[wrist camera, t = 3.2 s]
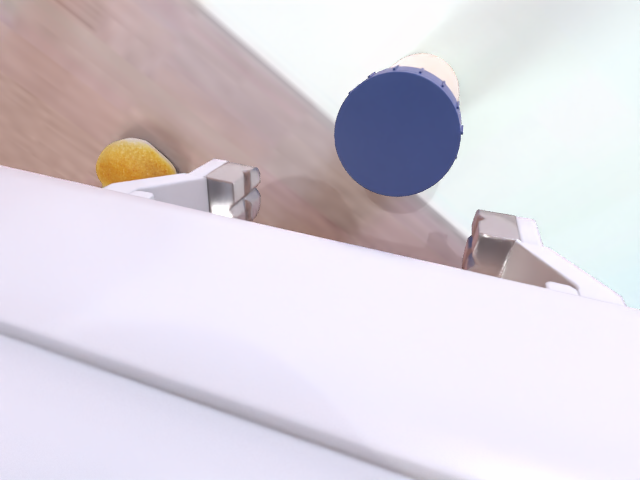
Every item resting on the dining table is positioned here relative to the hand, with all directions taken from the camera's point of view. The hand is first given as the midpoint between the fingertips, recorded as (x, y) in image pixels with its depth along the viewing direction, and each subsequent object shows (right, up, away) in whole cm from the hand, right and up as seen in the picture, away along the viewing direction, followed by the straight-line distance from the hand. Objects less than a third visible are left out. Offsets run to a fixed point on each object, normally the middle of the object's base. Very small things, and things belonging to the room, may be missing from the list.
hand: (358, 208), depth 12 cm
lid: (+2, +4, +7) cm, 8 cm away
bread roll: (-18, +5, +27) cm, 33 cm away
